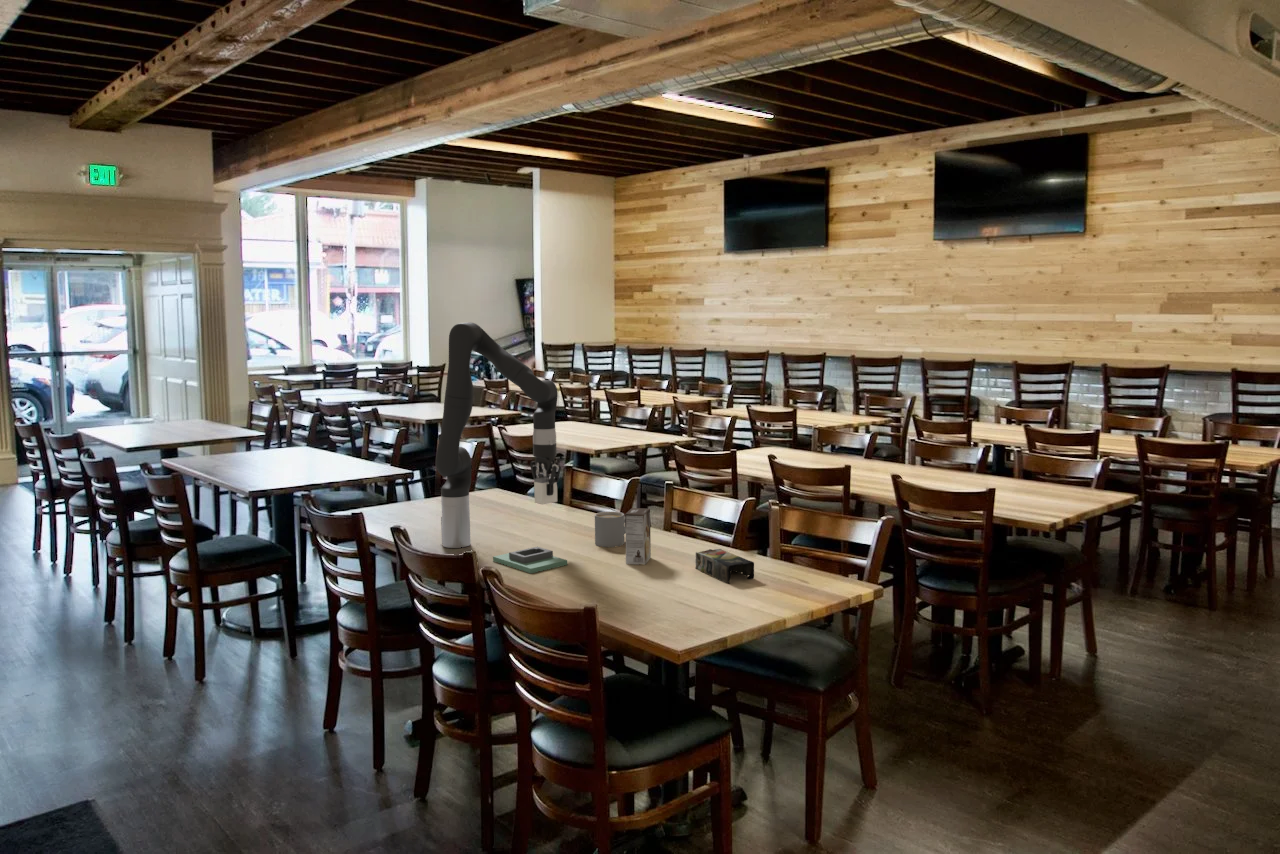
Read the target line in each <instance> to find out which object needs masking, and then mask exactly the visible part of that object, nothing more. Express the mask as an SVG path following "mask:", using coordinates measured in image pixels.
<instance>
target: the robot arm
mask: <svg viewBox="0 0 1280 854" xmlns="http://www.w3.org/2000/svg"><path fill="white" fill-rule="evenodd" d="M472 352H475V353H477V354H479V355H481V356H483V357H484V358H486V359H487V360H488V361H490V363H491V364H492V365H493V366H494V367H495V368H496V370H497V371H498V372H499V373H500V374H501V375H502V376H503V377H504V378H506V379H508V381H510V382H512V383H513V384H514V385H515V386H517V387H519V388H520V390H521V391H522V392H523V393H524V394H525V395H526V396H527V397H528V398H529V399H531V400H532V401H534V402H535V403H536V410H534V412H533V418H532V422H533V426H532V427H533V432H532V455H533V457H534V458H535V460H534V461H533V460H532V461H530V462H529V465H530V471H531V475H532V479H533V480H534V479H535V478H541V477H545V478H546V482H547V484H546V485H547V495H548V496H550V495H553V492H554V489H553V484H554V483H555V482H557V483H559V480H560V479H559V478H560V473H561V468H562V466H561V465H559V464H558V465H557V464H556V461H555V457H557V432H556V410H557V406H558V405H557V403H558V396H559V395H558V388H557V385H556V383H555V382H554V381H552V380H550V379H544V380H541V379H539V378H538V377H537V376H536V375H534V371H533V370H532V368H530V367H529V366H528V365H526V364H524V363H523V362H522V361H520V360H519V359H518V358H517V357H515V356H513V355H512V354H510V353H509V352H508V351H507V350H505V349H504V348H503V347H502V346H500V344H498V342H496V341H495V340H494V339H493V338H492V337H491V336H490V335H489V333H487V332H486V331H485V329H483V328H482V327H481V326H480V325H479V324H477V323H476V322H472V321H470V322H467V321H466V322H459V323H456V324H454V325H453V326H452V328H451V329H450V331H449V335H448V365H447V366H448V367H447V377H446V386H445V393H444V401H443V412H442V413H443V415H442V421H441V429H440V434H439V435H440V437H439V441H438V445H437V446H438V447H437V451H436V456H435V468H436V470H437V472H438V473H439V475H441V476H442V477H445V478H446V481H445V482H444V484H443V485H442V486H441V488H440V497H441V498H440V499H441V500H440V501H441V503H440V504H441V517H440V526H441V530H440V531H441V532H440V533H441V544H442V546H443V548H449V549H460V548H461V547H462V548H465V547H469V546H471V544H472V543H471V541H472V540H471V516H470V515H471V513H470V509H471V508H470V489H471V485H472V458H471V455H470V452H469V451H468V450H467V449H466V448H465V447H463V446H460V444H461V437H462V434H463V432H464V429H465V427H466V425H467V423H468V422H469V419H470V417H471V415H472V410H473V405H474V404H473V403H474V394H475V393H474V392H475V390H474V384H473V380H472V376H471V368H470V365H471V356H472ZM549 477H551V478H550V480H549ZM554 477H555V479H554Z"/></svg>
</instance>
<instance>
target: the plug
mask: <svg viewBox="0 0 1280 854" xmlns="http://www.w3.org/2000/svg"><path fill="white" fill-rule="evenodd" d="M550 478H551V477H549V480H550ZM554 479H555V477H554ZM533 481H534V483H533V485H534V486H533V489H534V490H533V491H534V503H535V504H538V505H547V504H552V503H558V484H557V483H558V482H555V483H554V484H553V489H554V492H553V495H550V496H548V495H547V485H546V484H547V482H546V478H545V477H541V478H535V479H533Z"/></svg>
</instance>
